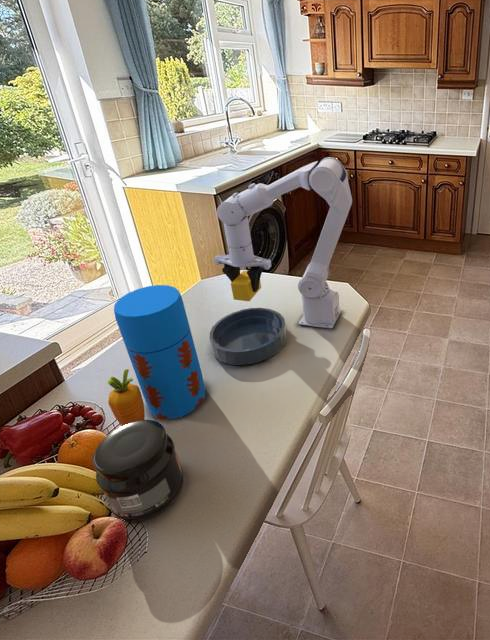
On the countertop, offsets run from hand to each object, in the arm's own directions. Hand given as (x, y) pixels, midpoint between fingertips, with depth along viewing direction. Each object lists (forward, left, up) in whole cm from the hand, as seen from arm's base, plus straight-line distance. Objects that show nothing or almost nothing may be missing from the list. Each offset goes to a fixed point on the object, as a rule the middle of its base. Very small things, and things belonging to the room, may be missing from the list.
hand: (247, 289), depth 108 cm
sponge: (0, 0, -1) cm, 1 cm away
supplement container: (-7, +50, -9) cm, 51 cm away
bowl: (-5, +11, -8) cm, 15 cm away
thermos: (+1, +31, -9) cm, 32 cm away
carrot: (+3, +40, -9) cm, 41 cm away
